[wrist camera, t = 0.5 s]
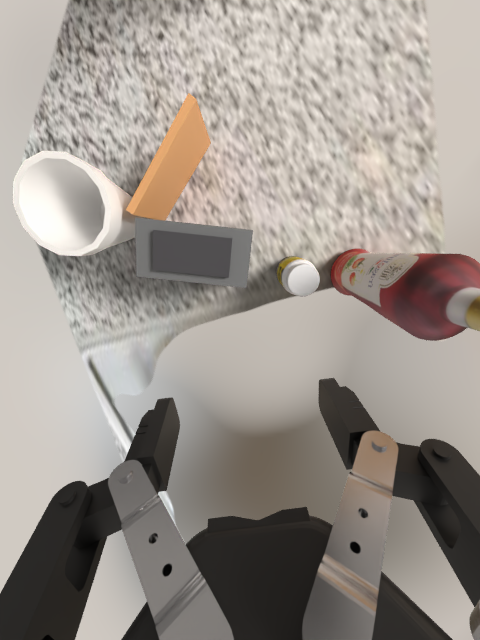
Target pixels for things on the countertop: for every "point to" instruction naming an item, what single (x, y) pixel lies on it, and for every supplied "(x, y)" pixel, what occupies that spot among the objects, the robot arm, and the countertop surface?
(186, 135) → the side door
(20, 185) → the foam cup
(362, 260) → the liquor
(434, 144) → the countertop surface
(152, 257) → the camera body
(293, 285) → the supplement bottle
